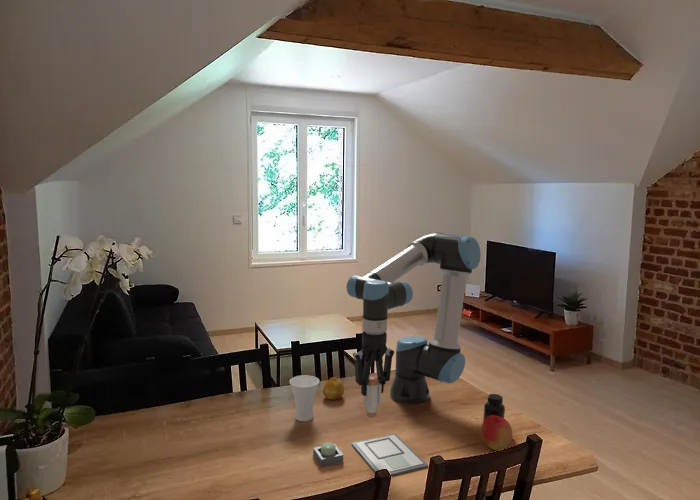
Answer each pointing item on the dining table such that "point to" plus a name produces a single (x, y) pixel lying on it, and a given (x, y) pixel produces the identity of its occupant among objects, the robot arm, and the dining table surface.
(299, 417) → the cup
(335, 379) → the fruit
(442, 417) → the dining table surface
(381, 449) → the grey rectangular board
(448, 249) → the robot arm
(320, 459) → the button housing
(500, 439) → the apple
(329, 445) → the button
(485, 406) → the supplement bottle
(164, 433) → the dining table surface
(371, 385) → the marker
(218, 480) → the dining table surface
